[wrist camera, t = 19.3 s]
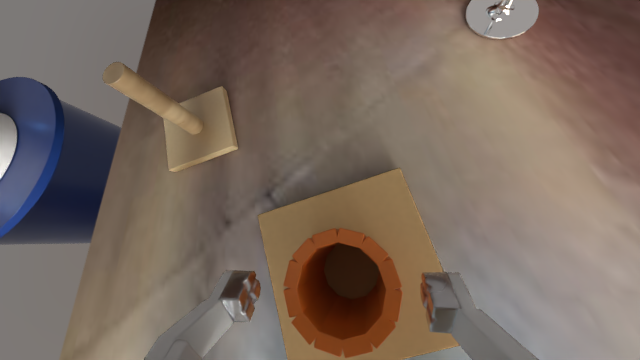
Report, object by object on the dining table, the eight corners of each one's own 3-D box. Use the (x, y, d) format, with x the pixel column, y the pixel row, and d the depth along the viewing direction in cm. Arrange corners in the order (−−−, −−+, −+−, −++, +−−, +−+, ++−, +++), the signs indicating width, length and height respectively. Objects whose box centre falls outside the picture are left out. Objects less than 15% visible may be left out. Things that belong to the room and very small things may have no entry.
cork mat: (296, 378, 19) (292, 386, 18) (261, 215, 23) (257, 214, 22) (467, 337, 18) (473, 342, 17) (398, 170, 22) (399, 167, 21)
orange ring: (327, 317, 19) (300, 370, 11) (307, 244, 21) (272, 247, 13) (399, 298, 18) (421, 340, 11) (373, 223, 20) (376, 214, 12)
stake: (175, 172, 27) (68, 135, 17) (169, 114, 29) (71, 53, 19) (238, 149, 26) (162, 96, 16) (226, 90, 28) (154, 14, 18)
